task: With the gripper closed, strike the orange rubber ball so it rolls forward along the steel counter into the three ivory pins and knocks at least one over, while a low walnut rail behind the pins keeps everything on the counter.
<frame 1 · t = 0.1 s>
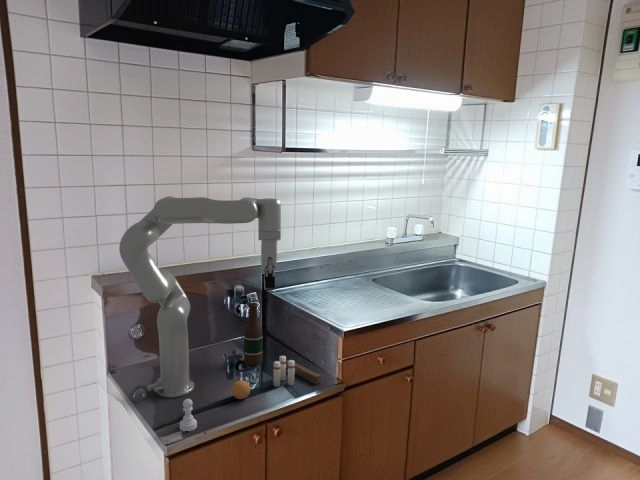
hand: (269, 284, 169), 37 cm above the counter, tool pointing down, fingers open, 9 cm apart
left back pin: (282, 379, 180), on the counter
back rail: (302, 375, 183), on the counter
right back pin: (291, 383, 176), on the counter
ball: (241, 389, 165), on the counter
chess pawn: (188, 428, 147), on the counter
beer bottle: (253, 362, 195), on the counter
front pin: (276, 385, 175), on the counter
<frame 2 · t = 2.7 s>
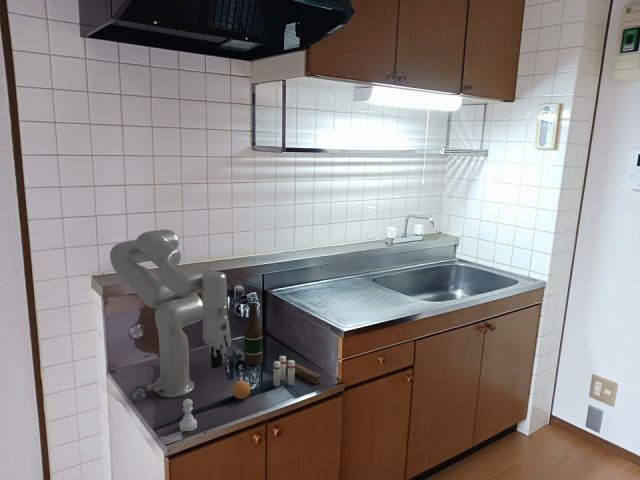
hand: (216, 366, 156), 14 cm above the counter, tool pointing down, fingers closed
nothing on the counter moved.
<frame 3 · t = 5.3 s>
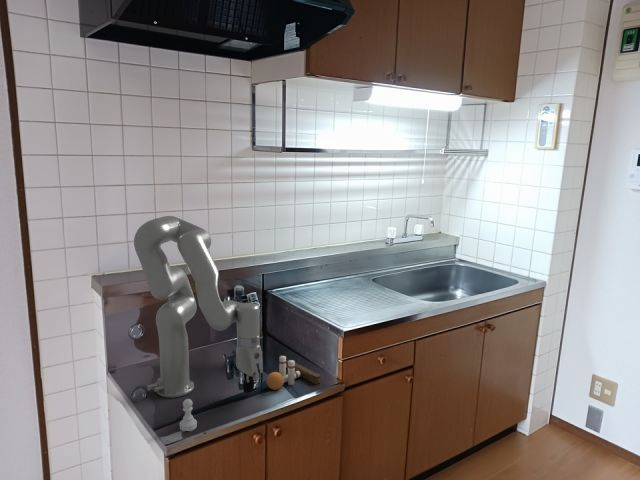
hand: (248, 391, 167), 2 cm above the counter, tool pointing down, fingers closed
ball: (275, 380, 172), on the counter
front pin: (280, 380, 176), point 1 cm above the counter, tilted 90°
everything else where it was.
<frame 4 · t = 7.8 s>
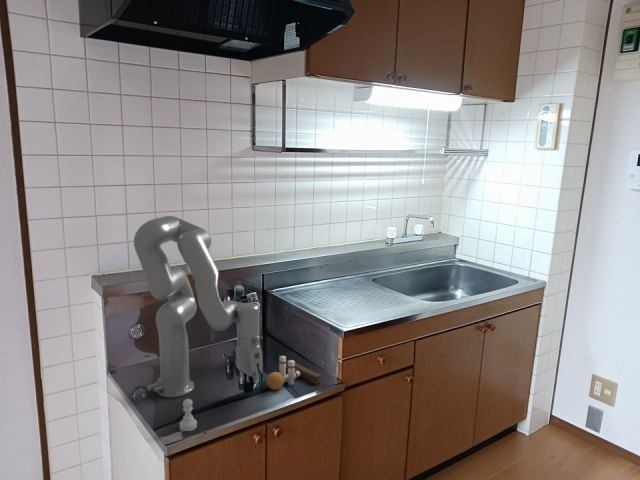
hand: (248, 391, 167), 2 cm above the counter, tool pointing down, fingers closed
nothing on the counter moved.
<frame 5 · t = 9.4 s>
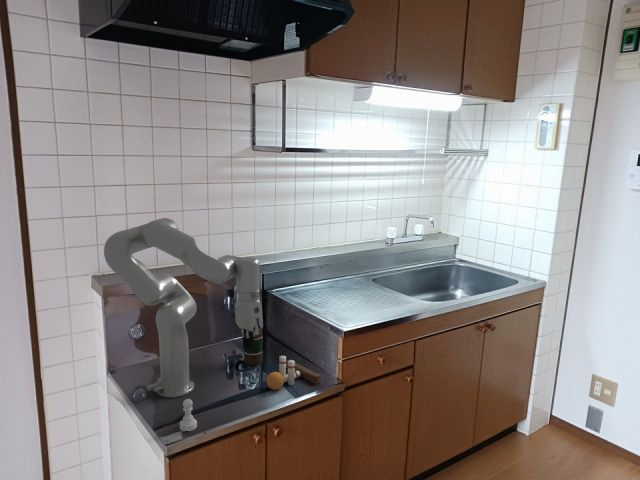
hand: (248, 347, 165), 17 cm above the counter, tool pointing down, fingers closed
nothing on the counter moved.
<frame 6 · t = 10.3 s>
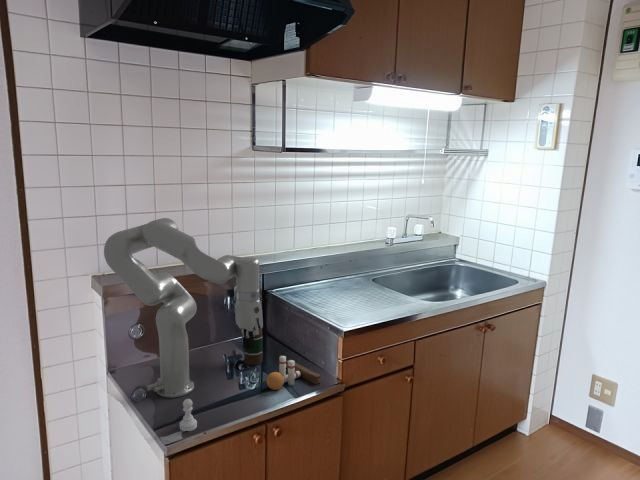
hand: (248, 347, 165), 17 cm above the counter, tool pointing down, fingers closed
nothing on the counter moved.
at the end: 1 of 3 knocked over (down: front pin; still standing: left back pin, right back pin); front pin never touched the robot; ball moved 12.9 cm from its start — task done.
